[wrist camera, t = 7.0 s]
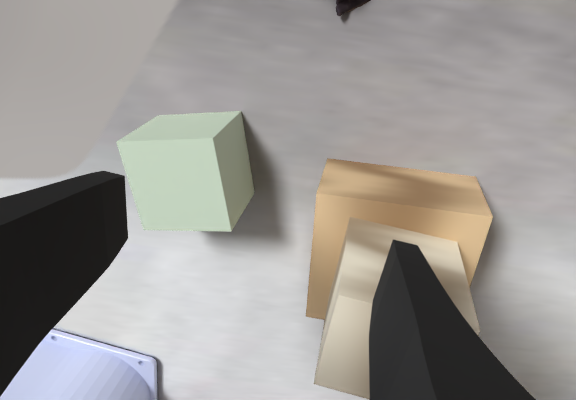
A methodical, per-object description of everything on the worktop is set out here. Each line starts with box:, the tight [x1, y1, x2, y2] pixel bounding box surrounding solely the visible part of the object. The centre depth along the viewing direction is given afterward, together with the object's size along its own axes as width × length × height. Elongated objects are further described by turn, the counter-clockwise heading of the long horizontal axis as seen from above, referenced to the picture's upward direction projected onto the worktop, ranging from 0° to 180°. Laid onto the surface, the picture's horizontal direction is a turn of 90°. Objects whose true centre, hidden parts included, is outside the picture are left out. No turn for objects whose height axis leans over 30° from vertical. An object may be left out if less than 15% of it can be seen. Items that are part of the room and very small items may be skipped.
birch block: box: [314, 217, 480, 399], centre depth 17 cm, size 4×4×5 cm
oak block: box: [306, 159, 493, 320], centre depth 21 cm, size 7×7×4 cm
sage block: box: [116, 111, 255, 232], centre depth 21 cm, size 4×4×4 cm
